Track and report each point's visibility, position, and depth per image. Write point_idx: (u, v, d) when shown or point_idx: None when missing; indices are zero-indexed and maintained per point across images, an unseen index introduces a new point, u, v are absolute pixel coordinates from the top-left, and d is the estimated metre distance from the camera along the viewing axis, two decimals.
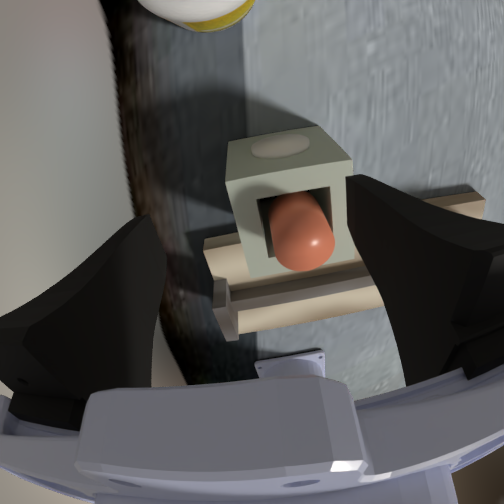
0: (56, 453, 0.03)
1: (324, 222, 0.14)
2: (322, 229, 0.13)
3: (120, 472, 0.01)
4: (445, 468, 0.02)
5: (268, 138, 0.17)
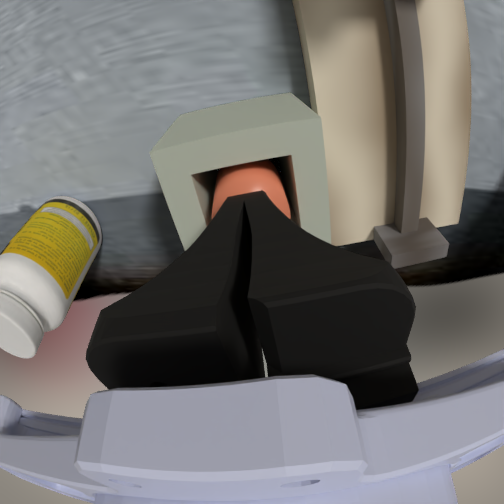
0: (56, 453, 0.03)
1: (218, 194, 0.11)
2: (223, 201, 0.11)
3: (120, 473, 0.01)
4: (445, 468, 0.02)
5: None
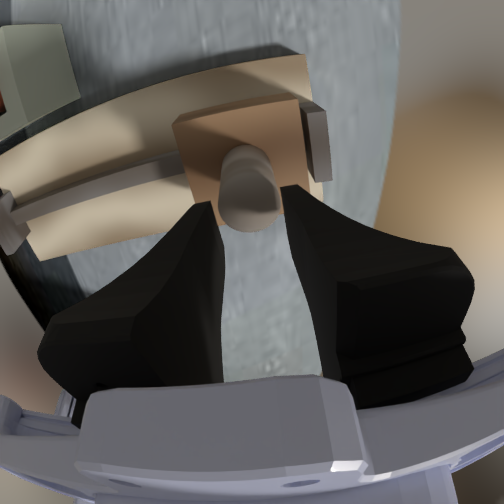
0: (56, 453, 0.03)
1: None
2: None
3: (120, 472, 0.01)
4: (445, 468, 0.02)
5: None
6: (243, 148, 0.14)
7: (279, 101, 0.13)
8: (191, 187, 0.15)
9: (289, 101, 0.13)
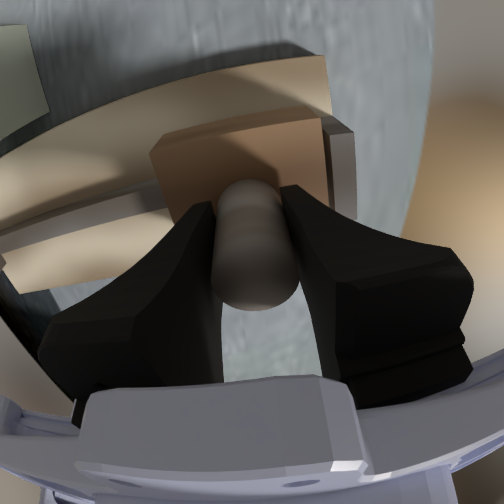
0: (56, 453, 0.03)
1: None
2: None
3: (120, 472, 0.01)
4: (445, 468, 0.02)
5: None
6: (246, 186, 0.10)
7: (295, 120, 0.10)
8: None
9: (309, 121, 0.10)
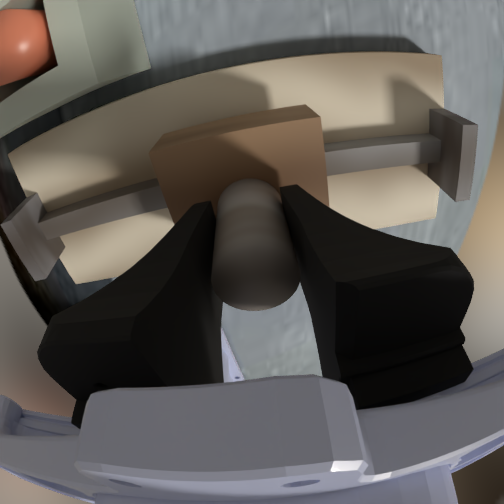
0: (56, 453, 0.03)
1: (19, 10, 0.05)
2: (11, 16, 0.05)
3: (120, 473, 0.01)
4: (445, 468, 0.02)
5: None
6: (246, 185, 0.10)
7: (295, 119, 0.10)
8: None
9: (309, 120, 0.10)
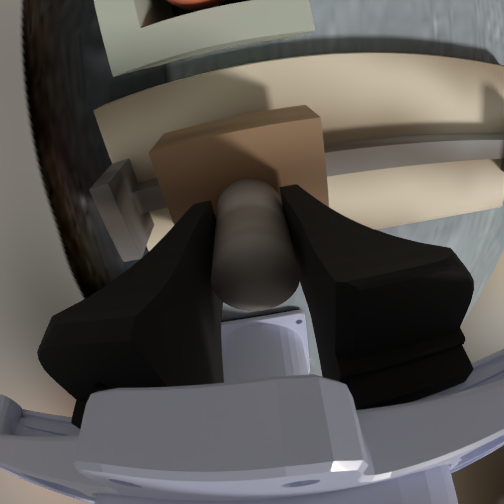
0: (56, 453, 0.03)
1: None
2: None
3: (121, 472, 0.01)
4: (445, 468, 0.02)
5: None
6: (246, 186, 0.10)
7: (295, 120, 0.10)
8: None
9: (309, 120, 0.10)
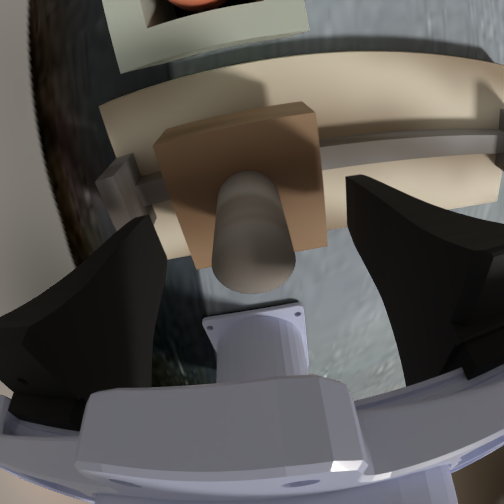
0: (56, 453, 0.03)
1: None
2: None
3: (120, 472, 0.01)
4: (445, 468, 0.02)
5: None
6: (245, 177, 0.11)
7: (291, 115, 0.10)
8: (180, 222, 0.13)
9: (304, 115, 0.10)
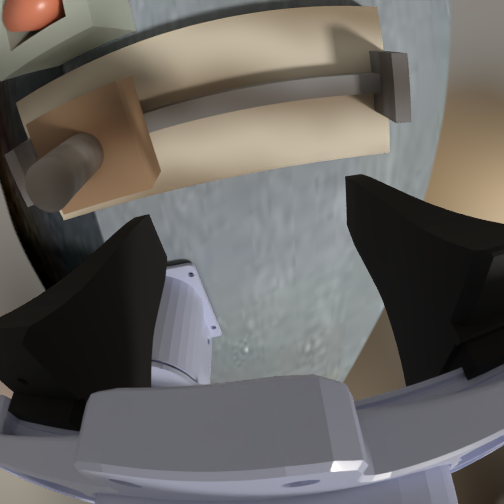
0: (56, 453, 0.03)
1: None
2: None
3: (120, 472, 0.01)
4: (445, 468, 0.02)
5: None
6: (72, 136, 0.13)
7: (101, 87, 0.12)
8: None
9: (108, 85, 0.12)
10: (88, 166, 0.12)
